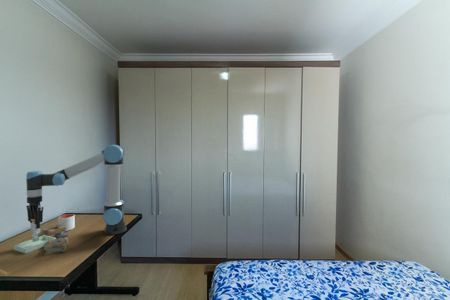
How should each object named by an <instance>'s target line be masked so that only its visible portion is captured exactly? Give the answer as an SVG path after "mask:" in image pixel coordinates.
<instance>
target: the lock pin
mask: <svg viewBox="0 0 450 300" xmlns="http://www.w3.org/2000/svg"><path fill="white" fill-rule="evenodd" d="M31 221H32V233H31V236H32V237H31V239H32V242H36V241H39V237H40V233H38V234H35V232H34V223H35V218H33V219H31Z"/></svg>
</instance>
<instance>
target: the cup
mask: <svg viewBox="0 0 450 300" xmlns="http://www.w3.org/2000/svg"><path fill="white" fill-rule="evenodd" d="M75 217H76V215H75V214H74V213H73V214H71V213H69V214H63V215H60V216H58V225H60V226H65V227H66V232H68V231H72V230H73V229H74V228H76V224H75V223H76V221H75V220H76V219H75Z"/></svg>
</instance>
